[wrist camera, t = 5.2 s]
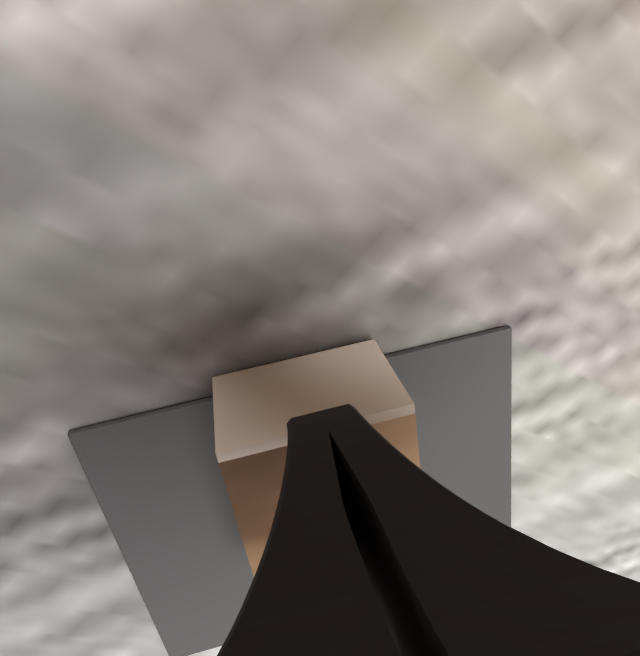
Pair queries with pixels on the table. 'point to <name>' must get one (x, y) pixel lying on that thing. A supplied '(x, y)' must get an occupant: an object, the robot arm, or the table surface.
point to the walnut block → (291, 401)
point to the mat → (213, 500)
